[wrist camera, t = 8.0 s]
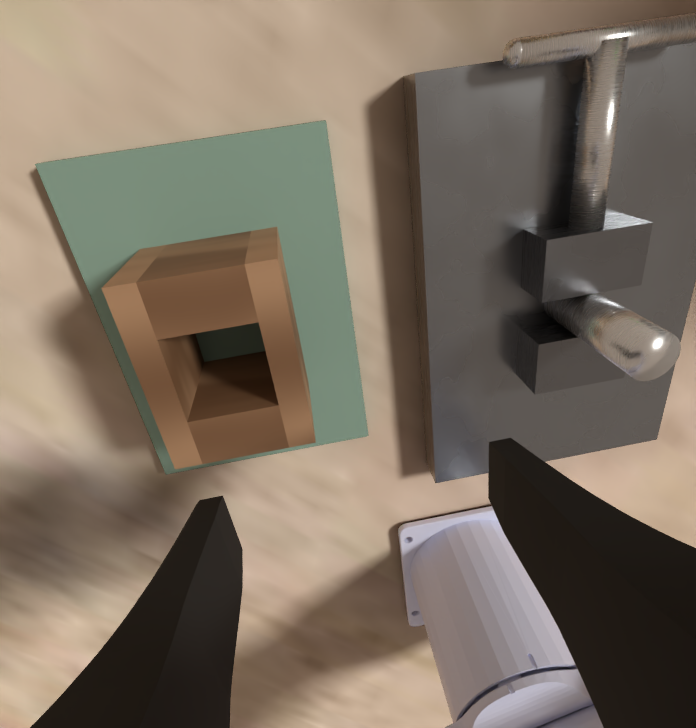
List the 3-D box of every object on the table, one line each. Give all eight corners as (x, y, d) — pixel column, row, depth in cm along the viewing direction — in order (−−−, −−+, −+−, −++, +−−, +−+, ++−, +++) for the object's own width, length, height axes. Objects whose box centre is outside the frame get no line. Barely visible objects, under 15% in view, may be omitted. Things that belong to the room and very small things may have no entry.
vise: (636, 421, 26) (747, 516, 20) (426, 462, 25) (474, 574, 19) (722, 13, 17) (971, -42, 11) (402, 59, 16) (478, 28, 10)
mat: (366, 428, 24) (368, 435, 23) (168, 466, 23) (165, 474, 23) (324, 120, 17) (326, 120, 16) (42, 162, 16) (35, 164, 16)
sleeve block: (308, 381, 21) (315, 442, 17) (193, 402, 21) (175, 469, 17) (277, 226, 18) (277, 258, 14) (140, 249, 18) (101, 288, 14)
